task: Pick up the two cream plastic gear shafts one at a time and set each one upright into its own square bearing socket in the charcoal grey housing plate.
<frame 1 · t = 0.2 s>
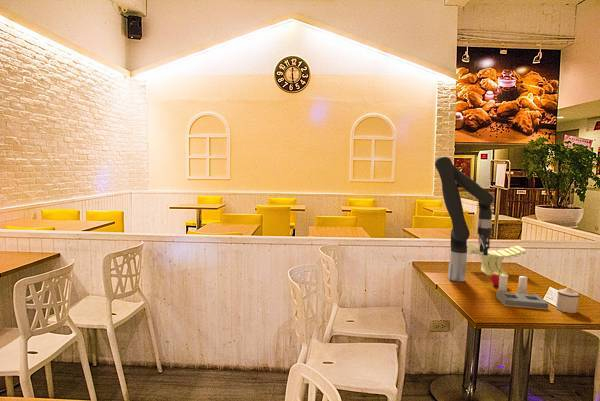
hand: (483, 253, 246), 17 cm above the table, tool pointing down, fingers open, 8 cm apart
apple: (498, 286, 242), on the table
housing: (521, 302, 214), on the table
jaw right: (521, 294, 227), on the table
slatted curved stool: (493, 273, 271), on the table
teacup with lid: (564, 309, 207), on the table
jaw left: (502, 293, 229), on the table
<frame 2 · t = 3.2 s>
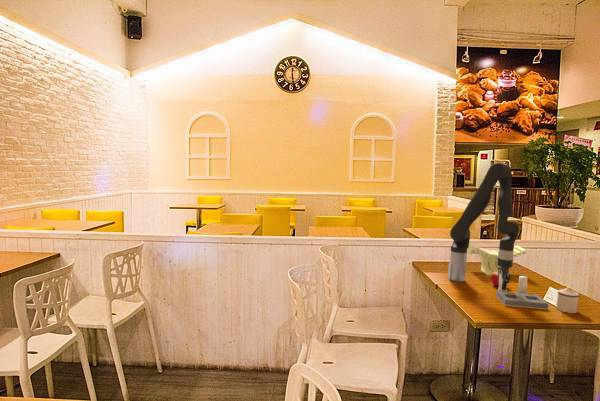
hand: (502, 288, 228), 3 cm above the table, tool pointing down, fingers closed on jaw left, 4 cm apart
jaw left: (502, 293, 229), on the table, touching gripper
everything else where it was.
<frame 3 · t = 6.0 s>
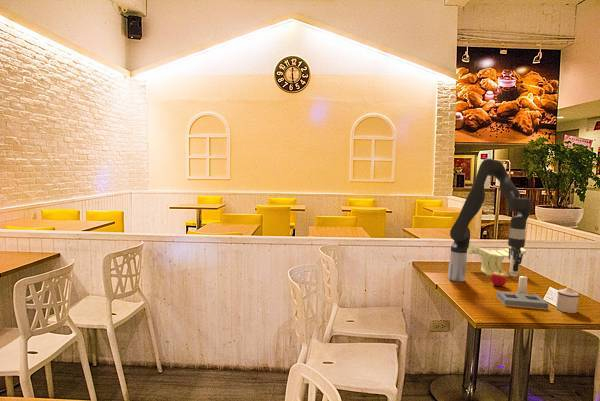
hand: (513, 269, 213), 17 cm above the table, tool pointing down, fingers closed on jaw left, 4 cm apart
jaw left: (513, 275, 213), point 14 cm above the table, touching gripper
everything else where it was.
when the fingers open (4 cm above the table, at t = 8.6 s): jaw left stays where it is, resting on housing.
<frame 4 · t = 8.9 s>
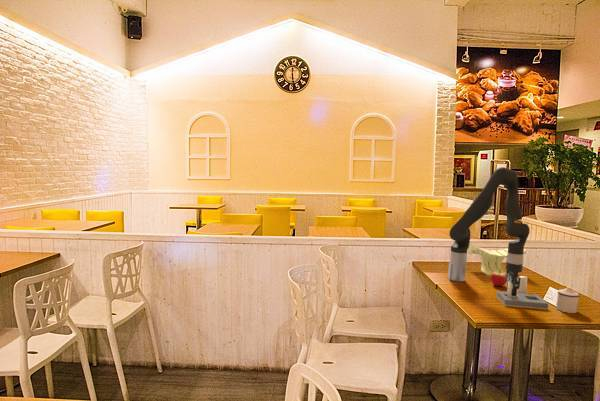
hand: (511, 293, 214), 4 cm above the table, tool pointing down, fingers open, 6 cm apart
jaw left: (510, 300, 215), point 1 cm above the table, touching housing
everything else where it was.
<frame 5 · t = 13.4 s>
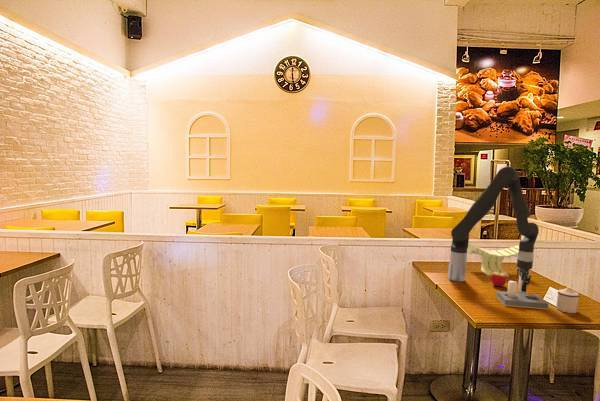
hand: (522, 289, 227), 3 cm above the table, tool pointing down, fingers closed on jaw right, 4 cm apart
jaw right: (521, 294, 227), on the table, touching gripper
everything else where it was.
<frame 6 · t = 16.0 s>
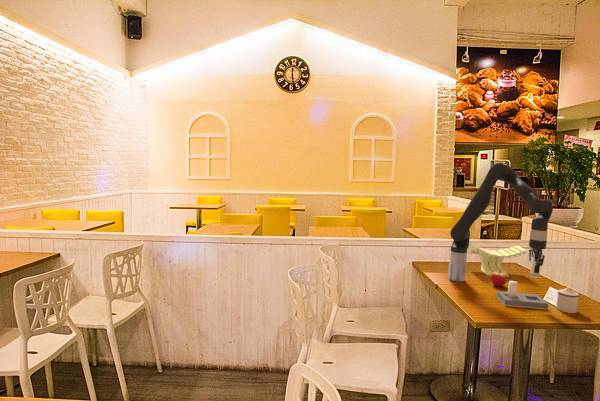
hand: (534, 271, 212), 17 cm above the table, tool pointing down, fingers closed on jaw right, 4 cm apart
jaw right: (534, 277, 212), point 14 cm above the table, touching gripper
everything else where it was.
when the fingers open (4 cm above the table, at t = 18.6 s): jaw right stays where it is, resting on housing.
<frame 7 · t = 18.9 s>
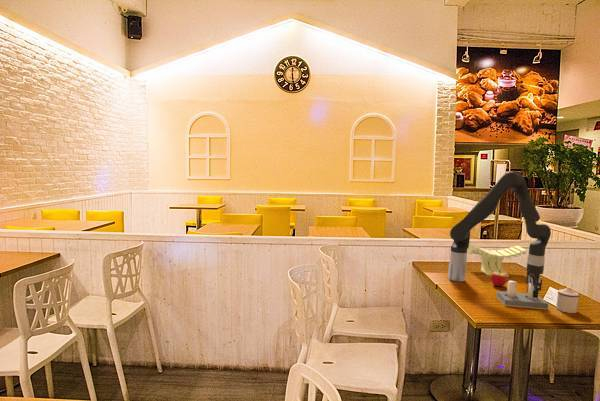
hand: (532, 295, 213), 5 cm above the table, tool pointing down, fingers open, 6 cm apart
jaw right: (531, 302, 213), point 1 cm above the table, touching housing
everything else where it was.
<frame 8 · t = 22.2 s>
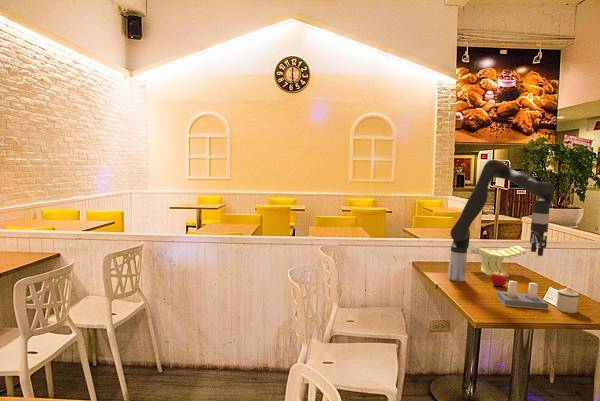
hand: (536, 253, 210), 26 cm above the table, tool pointing down, fingers open, 8 cm apart
nothing on the table moved.
at the end: jaw left 0.1 cm from the target spot on the housing, point 0.6 cm above the housing's base; jaw right 0.1 cm from the target spot on the housing, point 0.5 cm above the housing's base; jaw right tilted 0° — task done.
